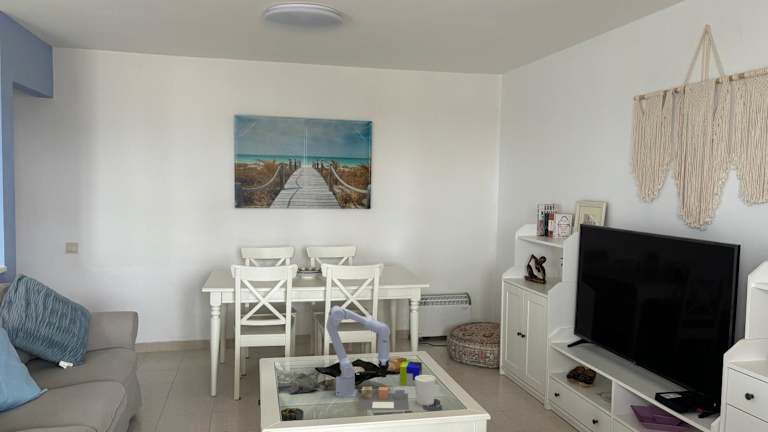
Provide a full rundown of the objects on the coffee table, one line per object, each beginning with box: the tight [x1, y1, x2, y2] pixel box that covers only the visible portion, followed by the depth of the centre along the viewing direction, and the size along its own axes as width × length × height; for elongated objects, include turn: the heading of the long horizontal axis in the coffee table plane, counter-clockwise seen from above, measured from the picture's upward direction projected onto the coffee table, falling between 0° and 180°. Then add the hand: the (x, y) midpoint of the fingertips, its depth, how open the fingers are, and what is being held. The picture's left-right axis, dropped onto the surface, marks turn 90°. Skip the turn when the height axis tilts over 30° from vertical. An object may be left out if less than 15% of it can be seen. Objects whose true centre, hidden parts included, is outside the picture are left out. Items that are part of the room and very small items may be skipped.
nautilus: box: [387, 356, 413, 374], centre depth 325 cm, size 8×22×15 cm
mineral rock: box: [290, 372, 320, 395], centre depth 291 cm, size 13×11×10 cm
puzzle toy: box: [399, 361, 423, 387], centre depth 305 cm, size 10×10×10 cm
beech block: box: [361, 386, 373, 399], centre depth 282 cm, size 4×4×4 cm
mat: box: [356, 392, 410, 411], centre depth 277 cm, size 24×22×1 cm
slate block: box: [394, 386, 406, 399], centre depth 282 cm, size 4×4×4 cm
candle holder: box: [415, 374, 437, 406], centre depth 276 cm, size 10×10×12 cm
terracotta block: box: [378, 386, 389, 399], centre depth 282 cm, size 4×4×4 cm
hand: (383, 375), depth 291 cm, fingers open, 6 cm apart
